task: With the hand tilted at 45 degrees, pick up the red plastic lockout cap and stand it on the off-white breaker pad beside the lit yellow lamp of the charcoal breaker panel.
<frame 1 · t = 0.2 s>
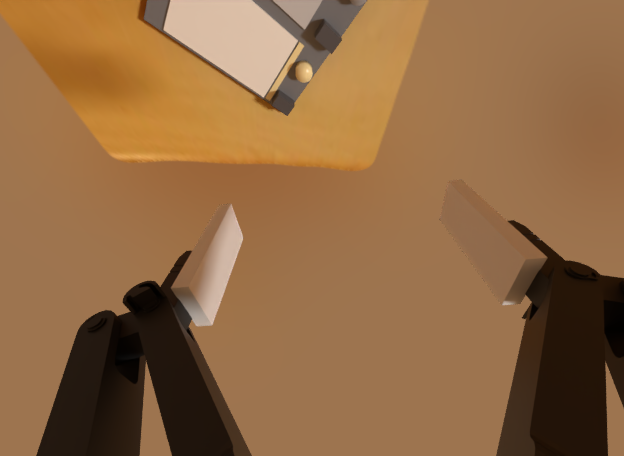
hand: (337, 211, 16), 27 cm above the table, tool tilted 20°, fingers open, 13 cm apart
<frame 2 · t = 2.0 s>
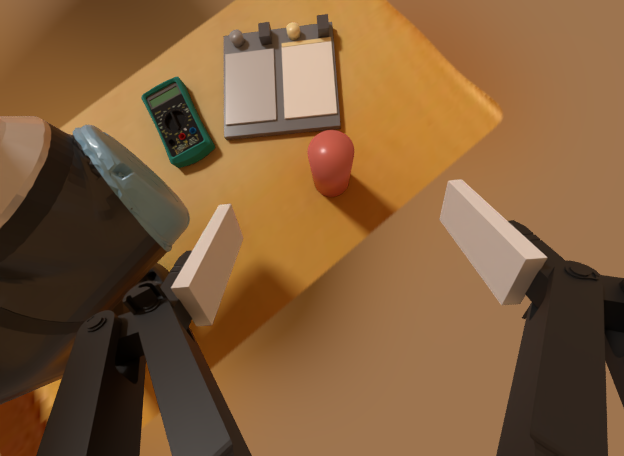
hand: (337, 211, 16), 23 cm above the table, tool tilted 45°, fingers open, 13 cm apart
digital multimeter: (183, 127, 44), on the table
breaker panel: (280, 82, 43), on the table
lockout cap: (331, 179, 39), on the table
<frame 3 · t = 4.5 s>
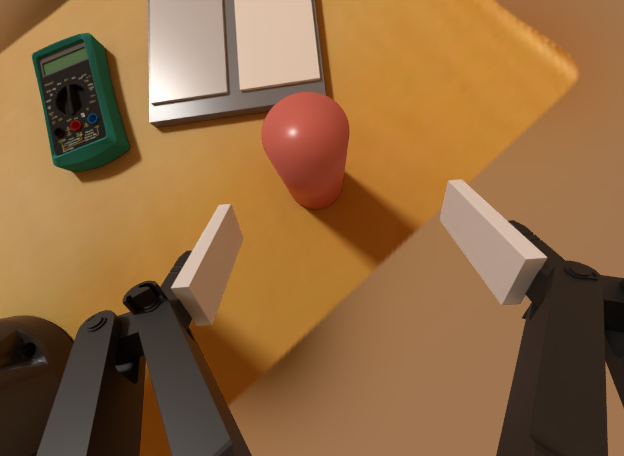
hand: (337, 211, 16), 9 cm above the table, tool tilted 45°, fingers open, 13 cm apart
digital multimeter: (93, 110, 29), on the table
breaker panel: (234, 38, 28), on the table
lockout cap: (315, 182, 25), on the table
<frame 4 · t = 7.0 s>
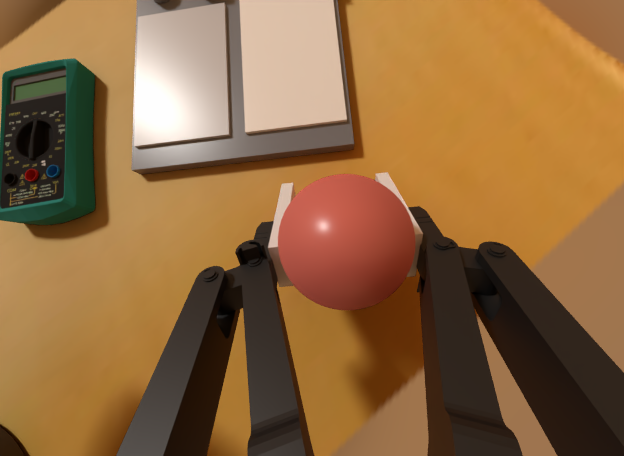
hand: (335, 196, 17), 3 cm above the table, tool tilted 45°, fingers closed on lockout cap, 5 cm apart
digital multimeter: (67, 148, 24), on the table
breaker panel: (239, 65, 23), on the table
lockout cap: (339, 252, 20), on the table, touching gripper
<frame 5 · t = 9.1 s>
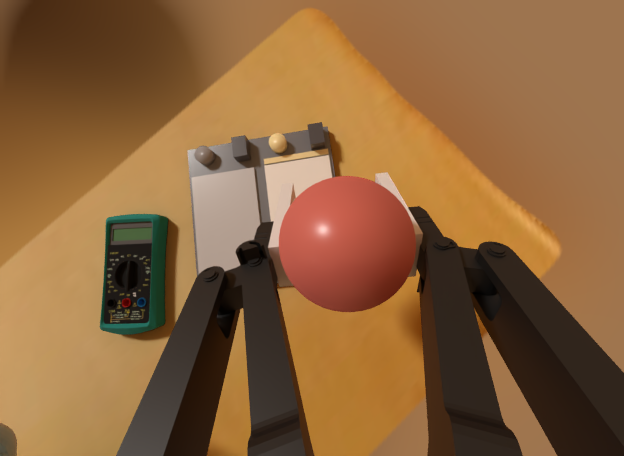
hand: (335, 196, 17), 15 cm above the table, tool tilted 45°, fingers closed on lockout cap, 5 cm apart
digital multimeter: (144, 270, 34), on the table
breaker panel: (266, 209, 33), on the table
lockout cap: (339, 253, 20), point 12 cm above the table, touching gripper
when the fingers open (6 cm above the table, at t = 11.6 s): lockout cap drops 1 cm, resting on breaker panel.
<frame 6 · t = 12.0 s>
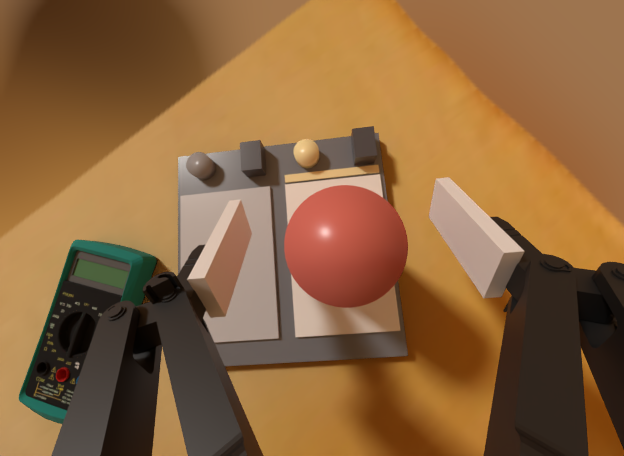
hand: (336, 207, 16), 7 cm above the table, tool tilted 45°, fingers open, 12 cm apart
digital multimeter: (107, 321, 24), on the table
breaker panel: (284, 247, 23), on the table
lockout cap: (339, 254, 21), point 1 cm above the table, touching breaker panel
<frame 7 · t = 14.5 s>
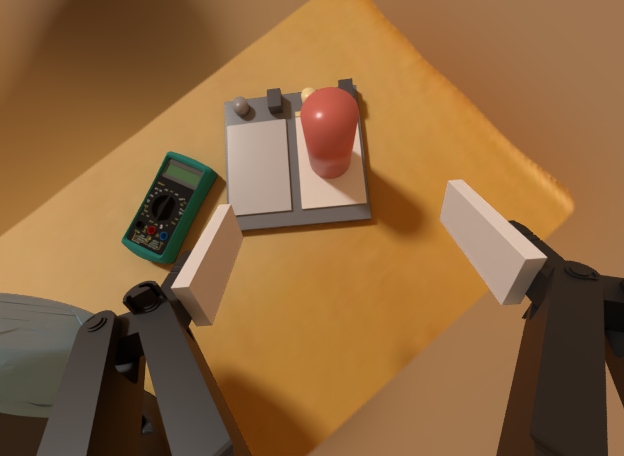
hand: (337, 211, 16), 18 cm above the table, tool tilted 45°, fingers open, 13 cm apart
digital multimeter: (177, 209, 36), on the table
breaker panel: (294, 159, 35), on the table
lockout cap: (330, 159, 33), point 1 cm above the table, touching breaker panel
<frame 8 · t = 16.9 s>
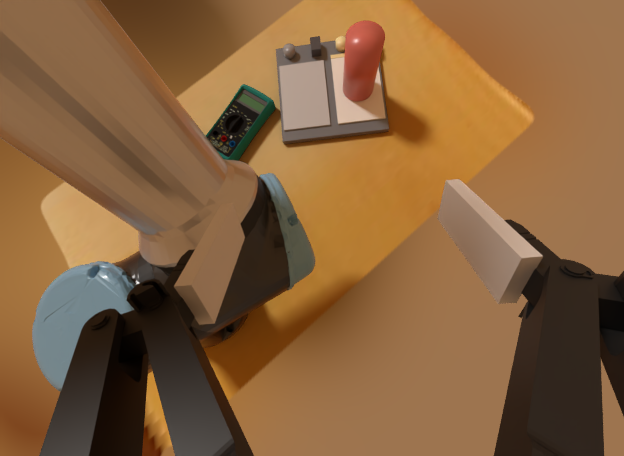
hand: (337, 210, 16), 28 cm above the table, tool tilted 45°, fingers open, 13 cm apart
digital multimeter: (241, 130, 48), on the table
breaker panel: (330, 90, 47), on the table
lockout cap: (357, 87, 45), point 1 cm above the table, touching breaker panel
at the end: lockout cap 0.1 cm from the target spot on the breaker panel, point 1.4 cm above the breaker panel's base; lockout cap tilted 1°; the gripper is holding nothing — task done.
